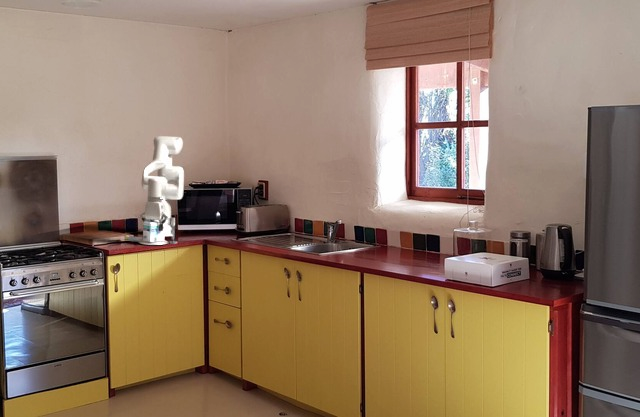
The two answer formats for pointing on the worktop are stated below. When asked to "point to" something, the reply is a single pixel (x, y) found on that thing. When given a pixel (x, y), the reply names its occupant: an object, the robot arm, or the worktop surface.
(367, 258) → the worktop surface
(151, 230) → the light bulb box
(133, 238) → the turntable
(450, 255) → the worktop surface
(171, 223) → the gauge stand
